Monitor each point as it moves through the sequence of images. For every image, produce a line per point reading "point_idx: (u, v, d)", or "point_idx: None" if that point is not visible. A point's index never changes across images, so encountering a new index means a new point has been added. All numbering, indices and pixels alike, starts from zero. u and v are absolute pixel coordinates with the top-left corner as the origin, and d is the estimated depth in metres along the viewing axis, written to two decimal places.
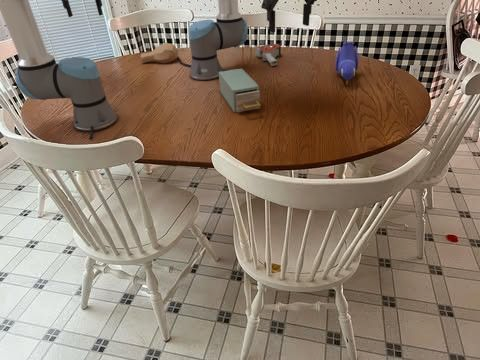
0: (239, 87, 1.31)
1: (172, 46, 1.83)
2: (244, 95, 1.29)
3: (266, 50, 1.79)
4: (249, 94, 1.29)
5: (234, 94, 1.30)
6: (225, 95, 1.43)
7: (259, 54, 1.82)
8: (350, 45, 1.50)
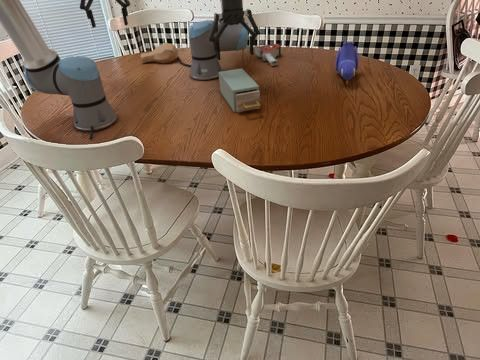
0: (239, 87, 1.31)
1: (172, 46, 1.83)
2: (244, 95, 1.29)
3: (266, 50, 1.79)
4: (249, 94, 1.29)
5: (234, 94, 1.30)
6: (225, 95, 1.43)
7: (259, 54, 1.82)
8: (350, 45, 1.50)
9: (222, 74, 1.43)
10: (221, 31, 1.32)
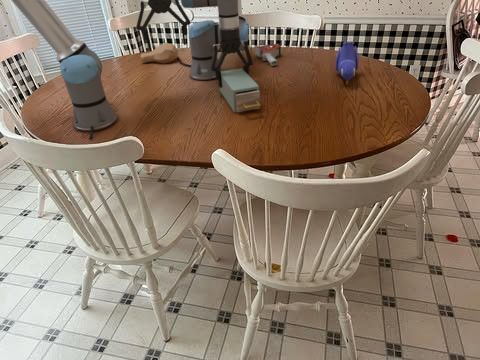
0: (239, 87, 1.31)
1: (172, 46, 1.83)
2: (244, 95, 1.29)
3: (266, 50, 1.79)
4: (249, 94, 1.29)
5: (234, 94, 1.30)
6: (225, 95, 1.43)
7: (259, 54, 1.82)
8: (350, 45, 1.50)
9: (222, 74, 1.43)
10: (221, 61, 1.39)
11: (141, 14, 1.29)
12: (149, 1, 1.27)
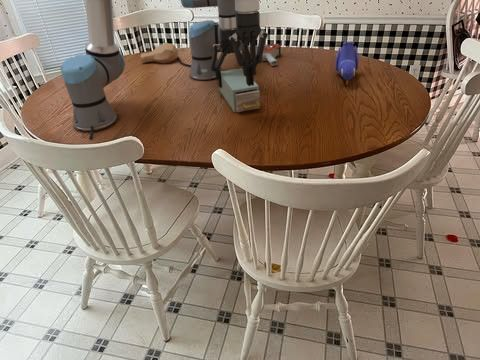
0: (239, 87, 1.31)
1: (172, 46, 1.83)
2: (244, 95, 1.29)
3: (266, 50, 1.79)
4: (249, 94, 1.29)
5: (234, 94, 1.30)
6: (225, 95, 1.43)
7: None
8: (350, 45, 1.50)
9: (222, 74, 1.43)
10: (221, 60, 1.40)
11: (237, 49, 1.15)
12: (238, 30, 1.12)
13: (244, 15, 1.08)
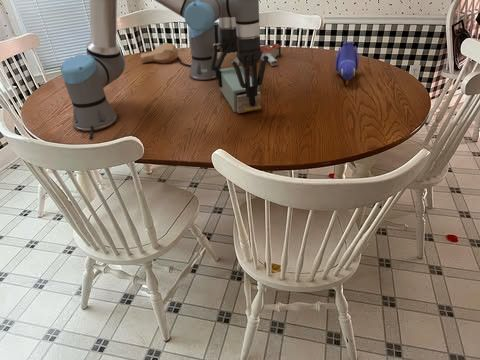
0: (239, 87, 1.31)
1: (172, 46, 1.83)
2: (245, 96, 1.28)
3: (266, 50, 1.79)
4: None
5: (234, 95, 1.30)
6: (225, 93, 1.42)
7: None
8: (350, 45, 1.50)
9: (222, 72, 1.42)
10: (221, 60, 1.39)
11: (239, 72, 1.19)
12: (240, 54, 1.16)
13: (245, 40, 1.12)
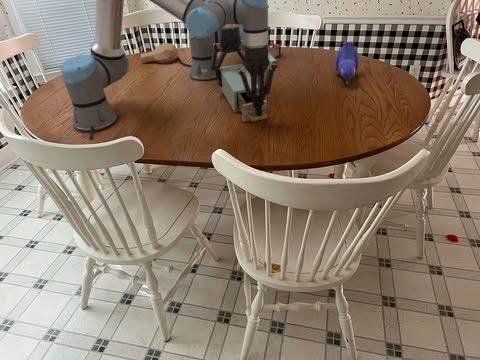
0: (240, 88, 1.30)
1: (172, 46, 1.83)
2: (251, 105, 1.24)
3: None
4: None
5: (235, 95, 1.30)
6: (225, 92, 1.42)
7: None
8: (350, 45, 1.50)
9: (222, 70, 1.41)
10: (221, 60, 1.39)
11: (246, 82, 1.14)
12: (247, 63, 1.11)
13: (253, 49, 1.07)
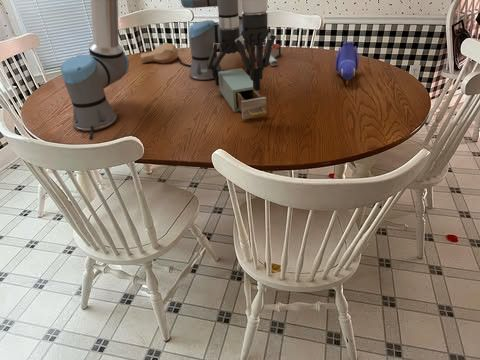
0: (239, 87, 1.31)
1: (172, 46, 1.83)
2: (250, 102, 1.24)
3: None
4: (255, 101, 1.24)
5: (234, 94, 1.30)
6: (225, 95, 1.43)
7: None
8: (350, 45, 1.50)
9: (222, 74, 1.43)
10: (219, 59, 1.39)
11: (244, 53, 1.09)
12: (245, 32, 1.06)
13: (251, 16, 1.02)
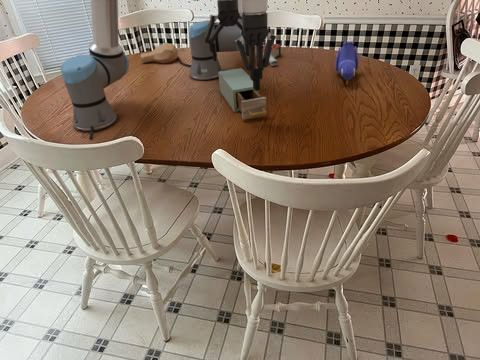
0: (239, 87, 1.31)
1: (172, 46, 1.83)
2: (250, 102, 1.24)
3: None
4: (255, 101, 1.24)
5: (234, 94, 1.30)
6: (225, 95, 1.43)
7: None
8: (350, 45, 1.50)
9: (222, 74, 1.43)
10: (217, 32, 1.33)
11: (244, 53, 1.09)
12: (245, 32, 1.06)
13: (251, 16, 1.02)
